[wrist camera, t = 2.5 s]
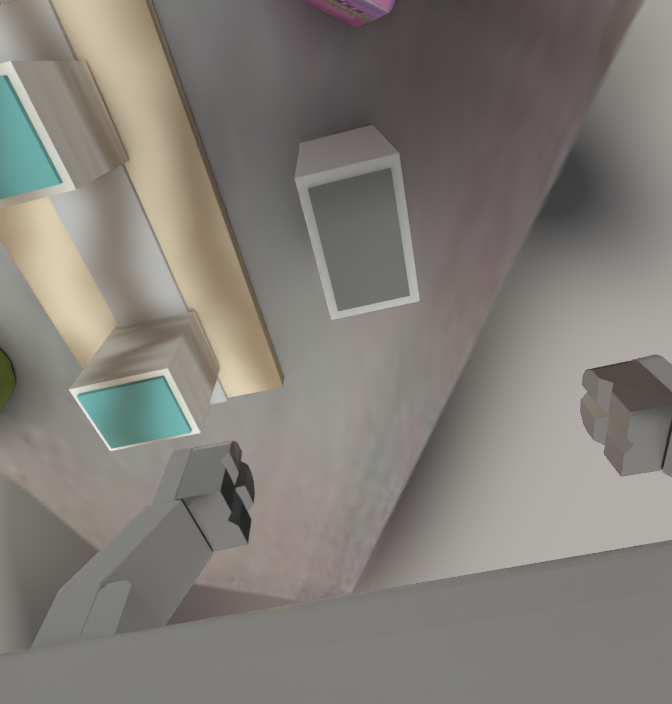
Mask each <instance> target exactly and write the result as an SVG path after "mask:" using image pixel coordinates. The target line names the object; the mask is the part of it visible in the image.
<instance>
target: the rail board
mask: <svg viewBox="0 0 672 704" xmlns="http://www.w3.org/2000/svg"><path fill="white" fill-rule="evenodd" d="M0 240H1V241H2V243H3V244H4V246H5V248H6V249H7V251H8V252H9V254H10V255H11V257H12V259H13V260H14V262H15V263H16V265H17V266H18V268H19V270H20V271H21V273H22V274H23V276H24V278H25V279H26V281H27V282H28V284H29V285H30V287H31V289H32V290H33V292H34V293H35V295H36V296H37V298H38V300H39V301H40V303H41V304H42V306H43V308H44V309H45V311H46V312H47V314H48V315H49V317H50V319H51V320H52V322H53V323H54V325H55V326H56V328H57V330H58V331H59V333H60V334H61V336H62V337H63V339H64V341H65V342H66V344H67V345H68V347H69V349H70V350H71V352H72V353H73V355H74V356H75V358H76V360H77V361H78V363H79V364H80V366H81V367H82V369H83V371H82V372H81V374H80V375H79V376H78V378H77V379H76V380H75V382H74V383H73V384H72V386H71V387H70V388H69V391H70V392H71V394H72V395H73V397H74V398H75V400H76V401H77V402H78V404H79V405H80V407H81V408H82V410H83V411H84V413H85V414H86V416H87V417H88V419H89V420H90V422H91V423H92V425H93V426H94V428H95V429H96V431H97V432H98V434H99V435H100V437H101V438H102V440H103V441H104V443H105V444H106V446H107V447H108V449H109V450H110V451H113V450H118V449H123V448H128V447H133V446H138V445H143V444H148V443H153V442H158V441H163V440H168V439H173V438H178V437H183V436H188V435H193V434H198V433H201V430H202V427H203V424H204V420H205V417H206V414H207V410H208V407H209V405H210V404H215V403H220V402H225V401H227V400H228V398H230V397H235V396H240V395H244V394H249V393H254V392H259V391H264V390H269V389H273V388H278V387H283V381H284V377H283V374H282V371H281V368H280V365H279V362H278V360H277V357H276V354H275V351H274V348H273V345H272V342H271V340H270V337H269V334H268V331H267V328H266V325H265V323H264V320H263V317H262V314H261V311H260V308H259V305H258V303H257V300H256V297H255V294H254V291H253V288H252V285H251V283H250V280H249V277H248V274H247V271H246V268H245V265H244V263H243V260H242V257H241V254H240V251H239V248H238V245H237V243H236V240H235V237H234V234H233V231H232V228H231V225H230V223H229V220H228V217H227V214H226V211H225V208H224V205H223V203H222V200H221V197H220V194H219V191H218V188H217V185H216V183H215V180H214V177H213V174H212V171H211V168H210V165H209V163H208V160H207V157H206V154H205V151H204V148H203V145H202V143H201V140H200V137H199V134H198V131H197V128H196V125H195V123H194V120H193V117H192V114H191V111H190V108H189V105H188V103H187V100H186V97H185V94H184V91H183V88H182V86H181V83H180V80H179V77H178V74H177V71H176V68H175V66H174V63H173V60H172V57H171V54H170V51H169V48H168V46H167V43H166V40H165V37H164V34H163V31H162V28H161V26H160V23H159V20H158V17H157V14H156V11H155V8H154V6H153V3H152V0H15V1H11V2H8V3H5V4H1V5H0Z"/></svg>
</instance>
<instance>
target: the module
mask: <svg viewBox="0 0 672 704" xmlns="http://www.w3.org/2000/svg"><path fill="white" fill-rule="evenodd" d="M295 182H296V186H297V190H298V194H299V198H300V202H301V205H302V209H303V213H304V217H305V221H306V225H307V229H308V232H309V236H310V240H311V244H312V248H313V252H314V255H315V259H316V263H317V267H318V271H319V275H320V279H321V282H322V286H323V290H324V294H325V298H326V302H327V306H328V309H329V313H330V317H331V320H334V319H339V318H343V317H348V316H353V315H357V314H362V313H366V312H371V311H376V310H380V309H385V308H390V307H394V306H399V305H403V304H408V303H413V302H417V301H420V299H419V292H418V285H417V278H416V271H415V263H414V256H413V249H412V242H411V234H410V227H409V220H408V213H407V205H406V198H405V191H404V184H403V176H402V169H401V162H400V155H399V152H398V151H397V150H396V149H395V148H394V147H393V146H392V145H391V144H390V142H389V141H388V140H387V139H386V138H385V137H384V136H383V135H382V134H381V133H380V132H379V131H378V130H377V129H376V127H375V126H374V125H370V126H366V127H362V128H358V129H354V130H350V131H346V132H342V133H338V134H334V135H330V136H326V137H322V138H318V139H314V140H310V141H306V142H302V143H300V147H299V153H298V160H297V166H296V172H295Z"/></svg>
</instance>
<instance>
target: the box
mask: <svg viewBox="0 0 672 704" xmlns="http://www.w3.org/2000/svg"><path fill="white" fill-rule="evenodd" d="M302 1H304V2H306V3H308V4H310V5H311V6H313V7H315V8H317V9H319V10H321V11H323V12H325V13H327V14H329V15H331V16H333V17H335V18H337V19H339V20H341V21H343V22H345V23H347V24H349V25H351V26H353V27H355V28H358V27H360V26H362V25H364V24H367V23H369V22H371V21H374V20H376V19H378V18H380V17H383V16H384V15H386V14H388V13H390V11H391V10H392V7H393V4H394V2H395V0H302Z"/></svg>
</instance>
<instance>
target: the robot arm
mask: <svg viewBox="0 0 672 704" xmlns="http://www.w3.org/2000/svg"><path fill="white" fill-rule="evenodd" d="M582 385H583V386H584V388H585V389H586V390H587V391H588V392H587V393H586V394H585V396H584V397H583V398H582V399H581V410H580V412H581V416H582V420H583V424H584V426H585V428H586V430H587V432H588V433H589V435H590V436H591V437H592V438H593V440H595V441H597V442H599V443H602V444H604V445H605V449H604V455H605V456H606V457H607V459H608V460H609V461H610V463H611V464H612V465H613V466H614V468H615V469H616V471H617V472H618V473H619V474H620V476H628V475H634V474H640V473H647V472H653V471H659V470H663V472H664V473H665V474H667V475H669V476H671V477H672V364H671V363H669V362H668V361H667V360H666V359H664V358H663V357H662V356H659V355H651V356H647V357H642V358H638V359H633V360H631V361H626V362H621V363H617V364H612V365H607V366H603V367H597V368H592V369H587V370H585V372H584V374H583V380H582ZM241 456H242V451H241V449H240V447H239V445H238V443H237V442H236V441H228V442H222V443H217V444H211V445H205V446H200V447H195V448H190V449H185V450H179V451H175V452H174V453H172V454H171V455H170V458H169V460H168V463H167V466H166V469H165V471H164V474H163V477H162V479H161V482H160V485H159V487H158V490H157V493H156V496H155V498H154V501H153V504H152V505H151V506H146V507H145V508H144V509H143V510H142V511H141V512H140V513H139V514H138V515H137V516H136V517H135V518H133V519H132V520H131V521H130V522H129V523H128V524H127V525H126V526H125V527H124V528H123V529H122V530H121V531H120V532H119V533H118V534H117V535H116V536H115V537H114V538H113V539H112V540H111V541H110V542H109V543H108V544H107V545H106V546H104V547H103V548H102V549H101V550H100V551H99V552H98V553H97V554H96V555H95V556H94V557H93V558H92V559H91V560H90V561H89V562H88V563H87V564H86V565H85V566H84V567H83V568H82V569H81V570H80V571H79V572H78V573H77V574H75V575H74V577H72V578H71V579H70V580H69V581H68V582H67V583H66V584H65V585H64V586H63V587H62V588H61V589H60V590H59V592H58V594H57V596H56V598H55V600H54V602H53V604H52V606H51V608H50V610H49V612H48V614H47V616H46V619H45V620H44V623H43V625H42V627H41V629H40V631H39V633H38V635H37V637H36V639H35V641H34V643H33V645H32V647H31V649H28V650H21V651H16V652H10V653H4V654H0V704H672V540H669V541H663V542H657V543H652V544H645V545H639V546H633V547H628V548H622V549H616V550H610V551H604V552H598V553H592V554H587V555H581V556H575V557H569V558H563V559H557V560H551V561H545V562H540V563H534V564H528V565H522V566H516V567H511V568H504V569H499V570H492V571H487V572H481V573H475V574H469V575H463V576H457V577H451V578H445V579H440V580H434V581H428V582H422V583H416V584H410V585H404V586H398V587H392V588H387V589H380V590H374V591H369V592H363V593H357V594H351V595H345V596H339V597H333V598H327V599H321V600H315V601H310V602H304V603H298V604H292V605H286V606H280V607H275V608H269V609H263V610H257V611H251V612H245V613H239V614H234V615H227V616H221V617H216V618H210V619H204V620H198V621H192V622H186V623H180V624H174V625H169V626H165V624H166V623H167V622H168V620H169V618H170V617H171V615H172V614H173V613H174V611H175V609H176V608H177V607H178V605H179V604H180V602H181V601H182V599H183V598H184V596H185V595H186V593H187V592H188V590H189V589H190V587H191V586H192V584H193V583H194V581H195V580H196V579H197V577H198V576H199V574H200V573H201V571H202V570H203V568H204V567H205V565H206V564H207V562H208V561H209V559H210V558H211V556H212V555H213V552H214V551H219V550H224V549H228V548H233V547H238V546H243V545H247V544H248V541H249V534H250V527H251V518H250V516H249V513H248V510H249V509H250V508H251V506H252V505H253V504H254V496H255V490H254V480H253V476H252V473H251V470H250V468H249V466H248V465H247V464H245V463H244V462H242V461H241Z"/></svg>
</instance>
